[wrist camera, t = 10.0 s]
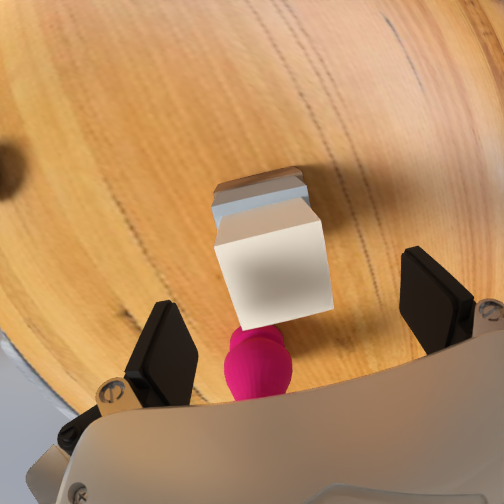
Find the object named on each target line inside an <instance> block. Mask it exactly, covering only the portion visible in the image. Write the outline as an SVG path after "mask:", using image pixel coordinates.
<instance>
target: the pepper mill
mask: <svg viewBox="0 0 504 504" xmlns="http://www.w3.org/2000/svg"><path fill="white" fill-rule="evenodd" d="M224 375H225V378H226V382H227V385H228V387H229V389H230V391H231V393H232V395H233V397H234V399H235V401H241V400H248V399H256V398H262V397H269V396H275V395H281V394H285V393H286V390H287V388H288V386H289V384H290V381H291V377H292V359H291V356H290V354H289V352H288V351H287V350H286V349H285V345H284V340H283V335H282V334H281V332H280V331H279V330H278V329H277V328H276V327H275V326H273V325H267V326H263V327H258V328H253V329H249V330H244V331H243V330H242V327H241V326H240V327H239V328H237V329H236V330H235V331H234V333H233V334H232V336H231V339H230V352H229V353H228V354H227V356H226V358H225V362H224Z"/></svg>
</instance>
